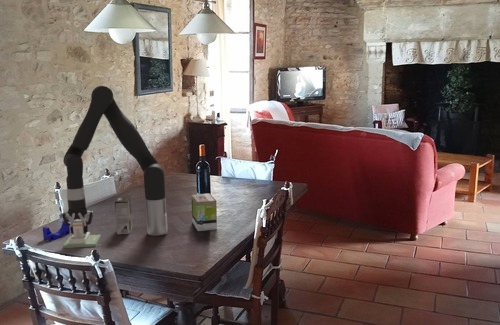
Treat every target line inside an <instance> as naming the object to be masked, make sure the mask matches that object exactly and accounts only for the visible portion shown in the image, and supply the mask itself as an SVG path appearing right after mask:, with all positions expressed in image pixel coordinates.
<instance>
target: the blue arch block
mask: <svg viewBox="0 0 500 325" xmlns="http://www.w3.org/2000/svg"><path fill="white" fill-rule="evenodd" d="M42 234H43V235H42V236H43V240H44V241H48V242H52V241H54V240H58V239H60V238H62V237H64V236H66V235H68V234H71V228H70V226H66V224H65V222H64V220H62V222H61V226H60V229H59V230H57V231H56V232H52V231H51V228H50V227H48V226H44V227H43V226H42Z"/></svg>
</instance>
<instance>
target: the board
mask: <svg viewBox="0 0 500 325" xmlns="http://www.w3.org/2000/svg"><path fill="white" fill-rule="evenodd" d="M101 238H102V234H91V232H90V231H88V232H87V233H86V236H85V238H83V239H74V234H72V235H70V236H69V237H68V238H67V239H66V241H65V242H64V243H63V244H62V249H68V248H69V249H70V248H73V249H74V248H89V247H97V244H98V243H99V242H100V240H101Z"/></svg>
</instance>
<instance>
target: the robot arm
mask: <svg viewBox="0 0 500 325" xmlns="http://www.w3.org/2000/svg"><path fill="white" fill-rule="evenodd" d="M90 98H91V99H90V103H89V107H88V110H87V112H86V114H85V116H84V118H83V120H82V122H81V123H80V125H79V127H78V130H77V132H76V133H75V136H74V138H73V140H72V142H71V144H70V146H69V147H68V149H67V150H66V152H65V154H64V156H63V165H64V166H65V167H66V172H67V173H66V174H67V176H66V199H67V207H68V210H67V211H63V212H62V214H61V217H62V219H63V220H62V221H64V222H65V224H66V226H69V228H70V234H72V235H73V234H74V232H73V222H74V221H75V220H77V219H79V220H81V221H82V222H83V225H84V234H86V233H87V232H89V227H88V226H89V225H91V224H92V221H93V217H94V212H95V211H94V210H88V209H87V204H86V203H87V202H86V192H85V186H84V178H83V176H84V161H83V159H82V157H83V154H84V153H85V151H87V150H88V149H89V147H90V144H91V143H92V141H93V139H94V136H95V133H96V130H97V128H98V126H99V123H100V121H101V119H102V117H103V116H105V118H106V120H107V121H108V124H109V125H110V126H111V129H112V131H113V132H114V134H115V136H116V137H117V139H118V141H119V142H120V144H121V145H122V146H123V147H124V149H125V150H126V151H127V152H128V153H129V154H130V155H131V156H132V157H133V158H134V159H135V160H136V162H137V163H138V165H139V166H140V169H141V170H142V172H143V186H144V198H145V212H146V231H147V235H148V236H155V237H156V236H157V237H158V236H163V235H167V234H168V215H167V214H168V213H167V205H166V201H167V200H166V189H165V188H166V187H165V186H166V185H165V171H164V168H163V166H162V164H160V163H159V162H158V161H157V159H156V158H155V157H154V155H153V154H152V153H151V152H150V150H149V148H148V146H147V145H146V142H145V141H144V139H143V137H142V136H141V134H140V133H139V132H140V131H138V128H136V126H135V125H134V124H133V123H132V121H131V120H130V119H129V118H128V117H127V116H126V115H125V114H124V112H123V111H122V110H121V109H120V107H119V106H118V103H117V102H116V100H115V99H114V92H113V91H112V89H111V88H110V87H109V86H107V85H98V86H96V87H94V89H93V90H92V92H91V94H90ZM68 215H69V217H70V218H71V219H70V220H69V217H68ZM86 215H87V216H88V220H87V218H86Z"/></svg>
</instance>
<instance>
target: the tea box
mask: <svg viewBox="0 0 500 325" xmlns="http://www.w3.org/2000/svg"><path fill="white" fill-rule="evenodd" d="M190 199H191V221H192V222H191V223H192V224H193V226H194V227H195V229H196V231H197V232H204V231H211V230H217V228H218V225H217V224H218V221H217V220H218V216H217V215H218V214H217V213H218V212H217V211H218V210H217V208H218V207H217V200H216V198H215V197H214V196H213V195H212V194H211V193H209V192H208V193H201V194H200V193H199V194H191V198H190Z"/></svg>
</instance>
